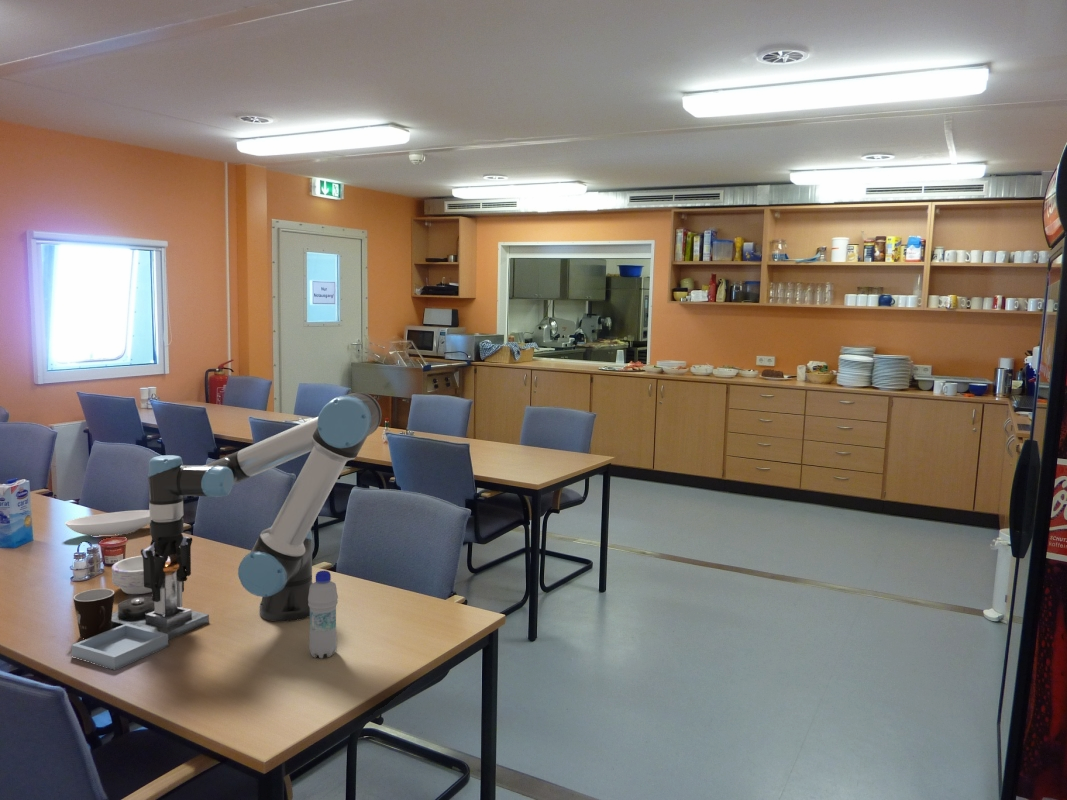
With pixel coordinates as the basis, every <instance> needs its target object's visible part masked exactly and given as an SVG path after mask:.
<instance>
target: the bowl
mask: <svg viewBox="0 0 1067 800" xmlns="http://www.w3.org/2000/svg"><path fill="white" fill-rule="evenodd" d="M151 520H152V519H151V518H150V511H149V509H139V510H137V509H136V510H124V511H115V512H105V513H99V514H92V515H87V516H82V517H77V518H73V519H70V520H67V521H65V522H64V525H65V526H66V527H67V528H69V529H70V530H71V531H73V532H74V533H77V534H81V535H85V536H91V535H92V536H99V535H115V534H116V535H118V534H119V535H120V536H123V535H122V534H126V535H128V534H127V533H130V534H132V533H131V532H133V533H135V532H136V531H138V530H139V529H143V528H144V527H146V526H148V525H150V521H151ZM92 536H91V537H92Z"/></svg>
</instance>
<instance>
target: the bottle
mask: <svg viewBox="0 0 1067 800" xmlns="http://www.w3.org/2000/svg"><path fill="white" fill-rule="evenodd" d="M331 578H332V576H331V573H330V571H328V570H319V571H317V572H316V574H315V582H312V583H313V584H311V585H310V588H309V596H308V602H309V603H308V605H309V607H310V617H309V637H308V649H309V653H310V654H311V657H313V658H317V657H319V659H324V656H325V655H326V657H327V658H330V657H331V656H333V655H334V654H335V653H336V652H337V647H338V638H337V637H338V636H337V604H338V602H339V601H338V598H339V596H338V589H337V584H336V583H335V582H333V581H331V580H332V579H331Z"/></svg>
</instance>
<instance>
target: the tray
mask: <svg viewBox="0 0 1067 800" xmlns="http://www.w3.org/2000/svg"><path fill="white" fill-rule="evenodd" d="M70 646H71V657H72V656H73V657H76V658H79V659H82V660H86V661H89V662H92V663H95V664H98V665H101V666H100V667H102V666H104V667H103V668H105V667H107V668H106V669H108V668H110V669H109V670H112V669H113V670H112V671H117V670H119V669H121V668H123V667H127V665H130V664H132V663H134V662H136V661H139V660H141V659H143V658H145V657H147V656H149V655H153V654H154V653H157V652H159V651H161V650H163V649H165V648H167V647H169V640H168V634H165V633H162V632H158V631H154V630H150V629H146V628H142V627H138V626H134V625H131V624H127V623H126V624H124V625H121V626H119V627H116V628H114V629H111V630H108V631H106V632H103V633H101V634H98V635H96V636H93V637H91V638H88V639H86V640H84V639H82V640H81V641H79V642H75V643H73V644H71V645H70ZM95 664H94V665H95ZM98 665H97V666H98ZM118 668H119V669H118ZM116 669H117V670H116Z"/></svg>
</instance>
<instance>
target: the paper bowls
mask: <svg viewBox="0 0 1067 800" xmlns="http://www.w3.org/2000/svg"><path fill="white" fill-rule="evenodd" d="M153 556H154V555H153ZM160 557H162V556H160ZM154 561H155V560H154ZM169 561H170V557H169V556H168V560H167V561H166V562H169ZM111 578H112V579H111V581H112V585H114V586H116V587H119V588H120V589H121V591H122V592H123V593H125V594H128V595H143V594H144V595H145V594H150V593H152V589H150V588H146V587H144V573H143V557H142V555H137V556H132V557H127V558H124V559H121V560H118V561H117V562H115V563H114V564H113V565H111ZM156 584H157V583H156Z"/></svg>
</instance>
